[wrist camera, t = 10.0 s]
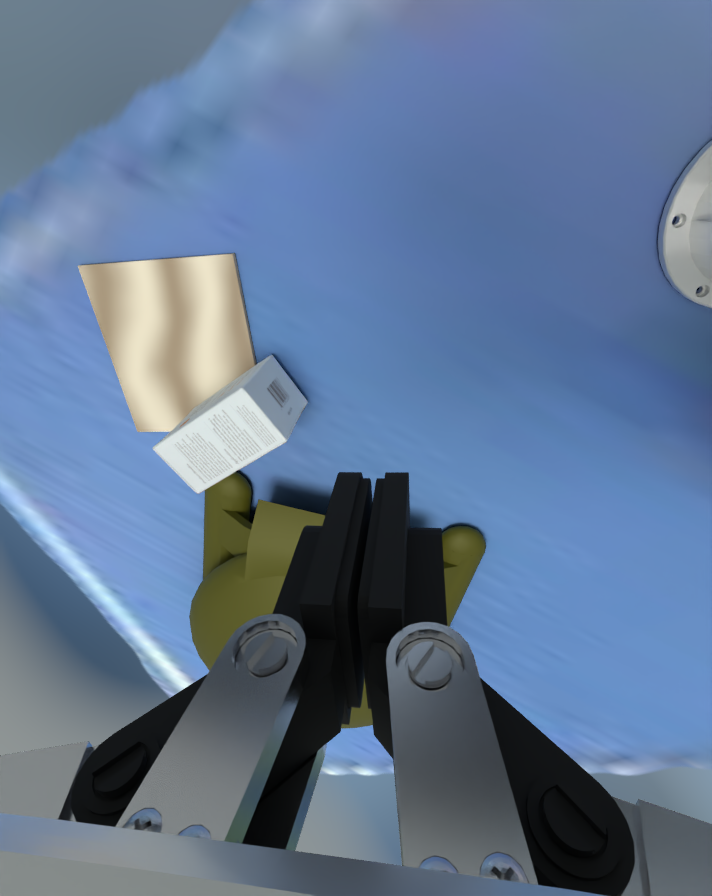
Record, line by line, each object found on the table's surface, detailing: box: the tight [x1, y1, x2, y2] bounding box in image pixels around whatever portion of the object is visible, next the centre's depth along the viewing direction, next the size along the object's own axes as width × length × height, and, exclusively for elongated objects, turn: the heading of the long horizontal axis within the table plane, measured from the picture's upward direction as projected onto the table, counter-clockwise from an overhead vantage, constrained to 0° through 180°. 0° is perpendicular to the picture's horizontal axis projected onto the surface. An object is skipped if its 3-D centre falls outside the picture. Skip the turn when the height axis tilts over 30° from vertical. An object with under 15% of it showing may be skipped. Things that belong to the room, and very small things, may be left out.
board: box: [78, 253, 257, 432], centre depth 41 cm, size 14×16×1 cm
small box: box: [153, 355, 308, 494], centre depth 39 cm, size 8×6×10 cm
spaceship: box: [189, 472, 486, 728], centre depth 52 cm, size 35×31×10 cm
